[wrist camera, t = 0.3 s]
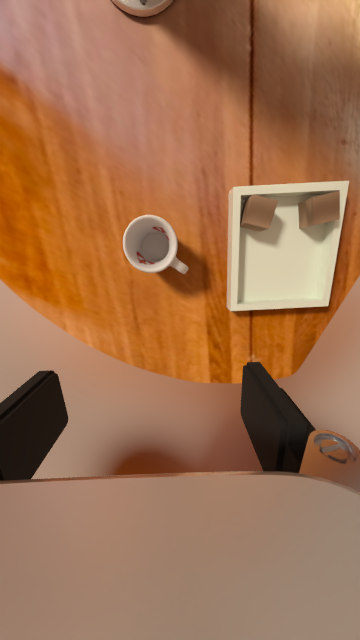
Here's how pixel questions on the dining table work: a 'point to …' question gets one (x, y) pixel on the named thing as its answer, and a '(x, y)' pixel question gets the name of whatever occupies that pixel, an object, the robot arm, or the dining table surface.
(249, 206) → the walnut block
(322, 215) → the walnut block
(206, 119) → the dining table surface
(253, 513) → the robot arm
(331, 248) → the tray
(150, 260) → the cup
